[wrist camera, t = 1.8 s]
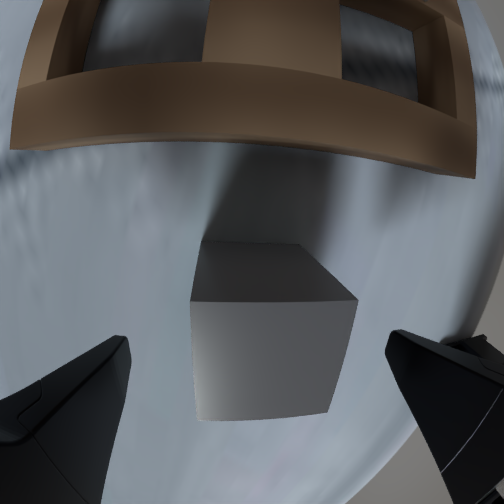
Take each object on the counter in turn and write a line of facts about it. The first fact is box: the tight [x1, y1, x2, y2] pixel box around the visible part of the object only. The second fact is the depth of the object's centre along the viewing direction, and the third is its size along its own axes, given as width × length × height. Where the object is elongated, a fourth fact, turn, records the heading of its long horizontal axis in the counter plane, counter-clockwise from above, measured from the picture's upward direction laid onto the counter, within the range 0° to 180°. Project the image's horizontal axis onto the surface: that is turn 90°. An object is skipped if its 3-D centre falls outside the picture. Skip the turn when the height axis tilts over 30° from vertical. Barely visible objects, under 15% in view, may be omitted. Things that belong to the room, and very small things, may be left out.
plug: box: [190, 241, 358, 421], centre depth 10 cm, size 4×4×6 cm
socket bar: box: [10, 0, 477, 179], centre depth 8 cm, size 11×20×3 cm, turn 86°
